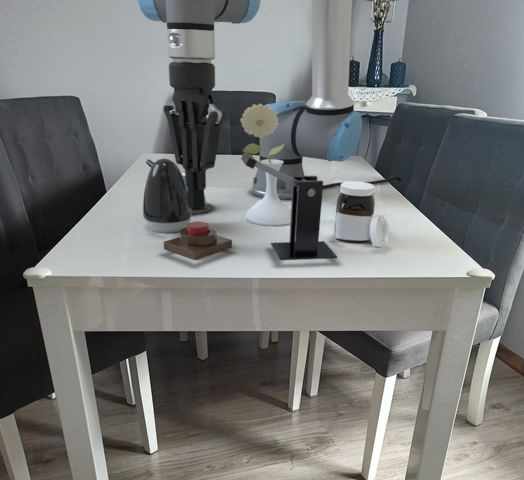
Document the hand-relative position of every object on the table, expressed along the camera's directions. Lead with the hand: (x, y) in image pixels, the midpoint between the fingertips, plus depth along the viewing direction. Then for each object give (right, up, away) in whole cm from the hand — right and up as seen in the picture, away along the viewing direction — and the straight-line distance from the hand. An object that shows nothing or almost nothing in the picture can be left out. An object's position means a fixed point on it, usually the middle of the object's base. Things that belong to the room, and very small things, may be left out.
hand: (196, 206), depth 97 cm
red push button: (0, -4, +3) cm, 5 cm away
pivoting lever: (+15, +4, -3) cm, 16 cm away
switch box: (0, -8, +5) cm, 9 cm away
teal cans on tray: (-6, +8, +33) cm, 34 cm away
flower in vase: (+13, +2, +24) cm, 27 cm away
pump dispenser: (-8, -1, +16) cm, 18 cm away
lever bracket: (+20, -8, +5) cm, 22 cm away
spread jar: (+33, -4, +13) cm, 36 cm away
